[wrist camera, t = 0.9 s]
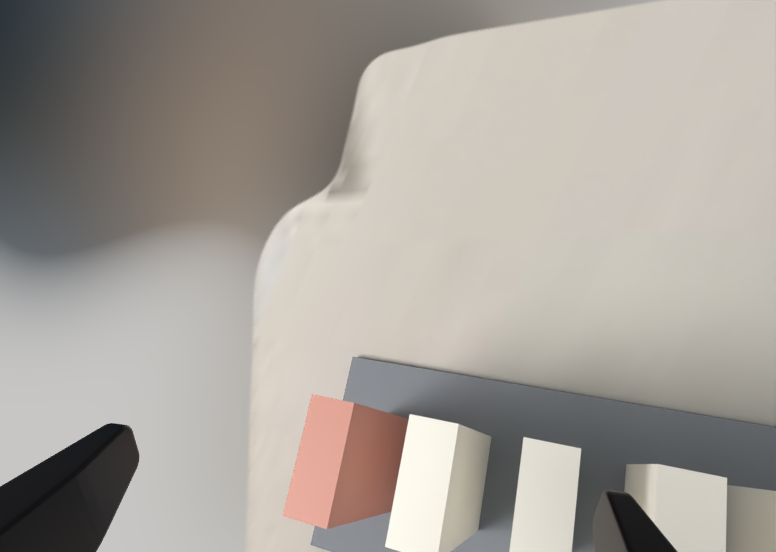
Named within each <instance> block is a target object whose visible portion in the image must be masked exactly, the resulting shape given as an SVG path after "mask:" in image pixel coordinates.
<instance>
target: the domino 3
mask: <svg viewBox="0 0 776 552" xmlns="http://www.w3.org/2000/svg"><path fill="white" fill-rule="evenodd" d="M580 457H581V448H576V447H571V446H566V445H561V444H556V443H551V442H546V441H541V440H536V439H531V438H526V437H524V438H523V446H522V454H521V462H520V470H519V478H518V486H517V494H516V502H515V510H514V518H513V526H512V534H511V542H510V550H509V552H572V543H573V532H574V521H575V511H576V500H577V489H578V478H579V468H580Z"/></svg>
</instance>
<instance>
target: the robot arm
mask: <svg viewBox="0 0 776 552" xmlns="http://www.w3.org/2000/svg"><path fill="white" fill-rule="evenodd" d="M138 462H139V452H138V448H137V445H136V441H135V438H134V435H133V431H132V429H131V428H130V427H129V426H127V425H122V424H113V423H110V424H106V425H104V426H102V427H101V428H99V429H97V430H96V431H94V432H92V433H91V434H89V435H87V436H86V437H84V438H82V439H80V440H79V441H77V442H75V443H74V444H72V445H70V446H68V447H67V448H65V449H64V450H62V451H60V452H58V453H57V454H55V455H53V456H51V457H50V458H48V459H46V460H45V461H43V462H41V463H40V464H38V465H36V466H34V467H33V468H31V469H30V470H28V471H26V472H24V473H23V474H21V475H19V476H17V477H16V478H14V479H12V480H11V481H9V482H7V483H6V484H4V485H2V486H0V552H96V551H97V549H98V548H99V546H100V544H101V542H102V540H103V538H104V536H105V534H106V532H107V530H108V528H109V526H110V524H111V522H112V520H113V518H114V516H115V513H116V511H117V509H118V507H119V505H120V503H121V500H122V498H123V496H124V494H125V492H126V490H127V488H128V486H129V484H130V481H131V479H132V477H133V475H134V473H135V471H136V469H137V466H138ZM593 538H594V547H595V552H677V550H676V549H675V548H674V547H673V546H672V544H671V543H670V542H669V541H668V539H667V538H666V537H665V536H664V535H663V533H662V532H661V531H660V530H659V528H658V527H657V526H656V525H655V524H654V522H653V521H652V520H651V519H650V517H649V516H648V515H647V514H646V513H645V511H644V510H643V509H642V508H641V506H640V505H639V504H638V503H637V502H636V500H635V499H634V498H633V497H632V496H631V495H630V494H629V493H627V492H622V491H614V490H605V491H604V492H603V493H602V495H601V498H600V501H599V504H598V507H597V510H596V513H595V516H594V519H593Z"/></svg>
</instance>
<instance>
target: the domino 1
mask: <svg viewBox="0 0 776 552" xmlns="http://www.w3.org/2000/svg"><path fill="white" fill-rule="evenodd" d="M408 420H409V419H407V418H404V417H400V416H397V415H394V414H390V413H387V412H383V411H380V410H377V409H373V408H370V407H367V406H363V405H360V404H356V403H352V402H347V401H342V400H337V399H332V398H327V397H322V396H317V395H313V394H312V397H311V401H310V405H309V409H308V413H307V417H306V421H305V426H304V430H303V434H302V438H301V442H300V446H299V450H298V455H297V459H296V463H295V467H294V471H293V475H292V480H291V484H290V488H289V492H288V496H287V500H286V504H285V509H284V513H283V516H285V517H288V518H291V519H295V520H298V521H301V522H304V523H308V524H311V525H314V526H318V527H321V528H324V529H329V528H333V527H337V526H341V525H344V524H348V523H352V522H355V521H359V520H363V519H366V518H370V517H374V516H377V515H381V514H385V513H388V512H391V511H392V506H393V501H394V495H395V490H396V485H397V479H398V474H399V469H400V463H401V458H402V452H403V447H404V442H405V436H406V431H407V426H408Z"/></svg>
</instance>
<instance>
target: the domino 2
mask: <svg viewBox="0 0 776 552" xmlns="http://www.w3.org/2000/svg"><path fill="white" fill-rule="evenodd" d="M490 443H491V436H489V435H486V434H484V433H481V432H478V431H476V430H473V429H471V428H468V427H465V426H463V425H460V424H457V423H452V422H447V421H442V420H437V419H432V418H427V417H422V416H417V415H412V414H410V415H409V420H408V426H407V431H406V436H405V442H404V447H403V452H402V458H401V463H400V469H399V474H398V479H397V485H396V490H395V495H394V501H393V506H392V511H391V517H390V522H389V528H388V533H387V538H386V544H385V547H387V548H390V549H393V550H397V551H400V552H451V551H452V550H454V549H455V548H456V547H458V546H459V545H460V544H461V543H463V542H464V541H465V540H467V539H468V538H469V537H471V536H472V535H473V534H474V533H476V532H477V531H478V528H479V521H480V514H481V507H482V500H483V493H484V486H485V479H486V472H487V465H488V458H489V451H490Z"/></svg>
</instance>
